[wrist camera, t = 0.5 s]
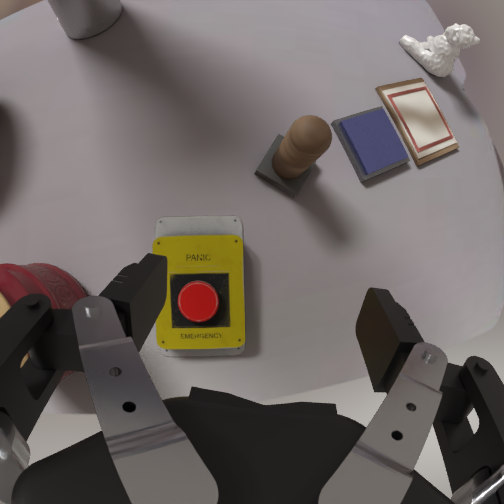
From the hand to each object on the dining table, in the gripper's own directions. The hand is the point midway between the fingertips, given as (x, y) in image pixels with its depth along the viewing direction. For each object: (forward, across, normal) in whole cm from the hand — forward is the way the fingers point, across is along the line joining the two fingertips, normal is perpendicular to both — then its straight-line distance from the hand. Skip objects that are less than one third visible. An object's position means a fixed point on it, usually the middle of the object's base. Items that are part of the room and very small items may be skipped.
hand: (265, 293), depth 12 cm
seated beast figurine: (+39, -23, -24) cm, 51 cm away
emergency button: (+18, +6, +11) cm, 22 cm away
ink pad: (+29, -12, -6) cm, 32 cm away
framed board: (+32, -20, -12) cm, 40 cm away
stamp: (+25, -1, -2) cm, 25 cm away
